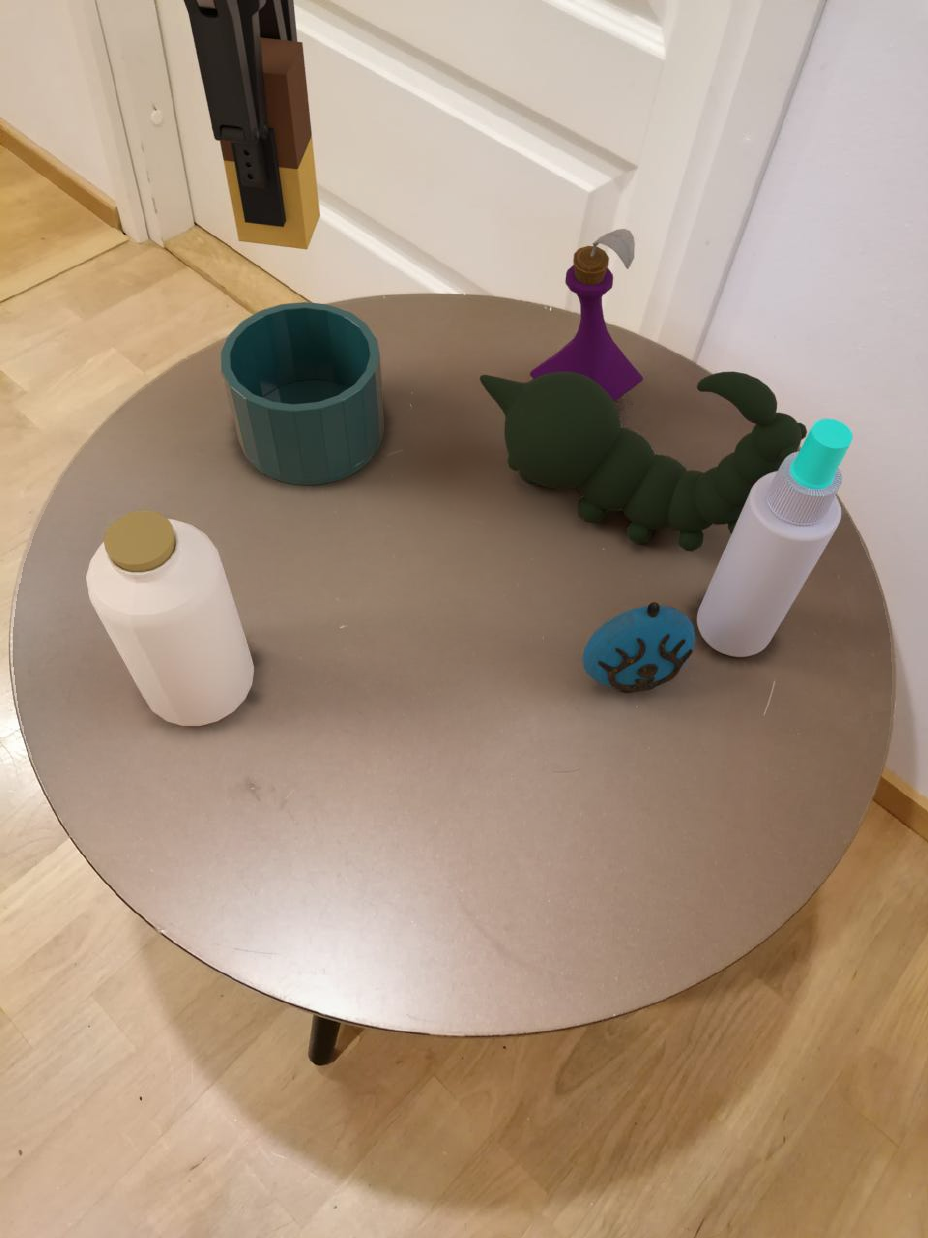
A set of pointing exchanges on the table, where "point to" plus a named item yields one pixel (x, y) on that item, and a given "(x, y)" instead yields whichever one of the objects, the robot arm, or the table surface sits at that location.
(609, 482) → the toy figurine
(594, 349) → the perfume bottle
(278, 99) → the sponge
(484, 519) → the table surface
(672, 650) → the ornament
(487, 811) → the table surface
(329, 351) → the teal hollow cylinder
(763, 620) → the spray bottle
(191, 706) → the white plastic cylinder
